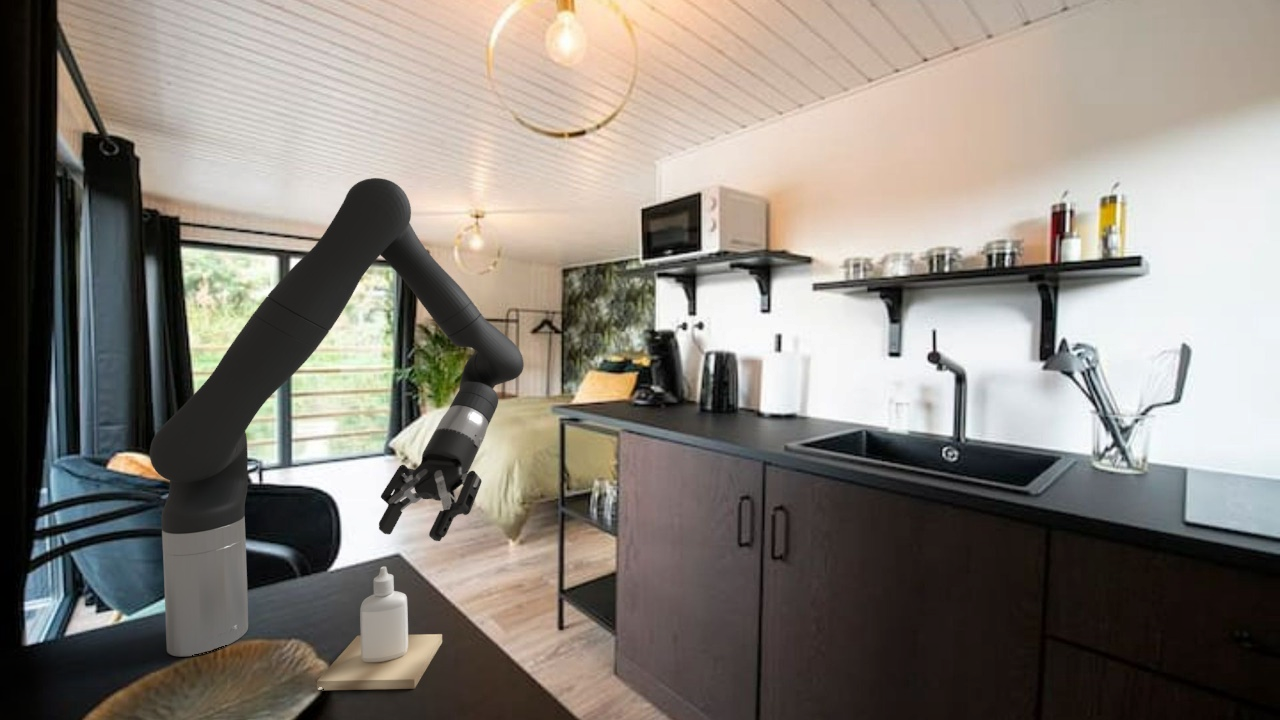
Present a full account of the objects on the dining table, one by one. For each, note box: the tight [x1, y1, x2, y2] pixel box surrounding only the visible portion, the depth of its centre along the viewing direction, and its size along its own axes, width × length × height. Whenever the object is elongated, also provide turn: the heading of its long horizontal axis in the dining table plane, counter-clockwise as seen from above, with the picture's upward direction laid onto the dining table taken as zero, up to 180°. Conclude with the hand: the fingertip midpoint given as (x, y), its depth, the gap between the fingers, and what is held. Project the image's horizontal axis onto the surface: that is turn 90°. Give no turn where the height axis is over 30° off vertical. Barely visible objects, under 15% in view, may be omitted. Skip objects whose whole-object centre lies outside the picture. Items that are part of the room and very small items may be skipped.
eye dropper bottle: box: [359, 566, 409, 662], centre depth 71 cm, size 4×6×12 cm
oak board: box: [316, 633, 443, 691], centre depth 71 cm, size 12×10×1 cm
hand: (408, 535), depth 75 cm, fingers open, 8 cm apart
